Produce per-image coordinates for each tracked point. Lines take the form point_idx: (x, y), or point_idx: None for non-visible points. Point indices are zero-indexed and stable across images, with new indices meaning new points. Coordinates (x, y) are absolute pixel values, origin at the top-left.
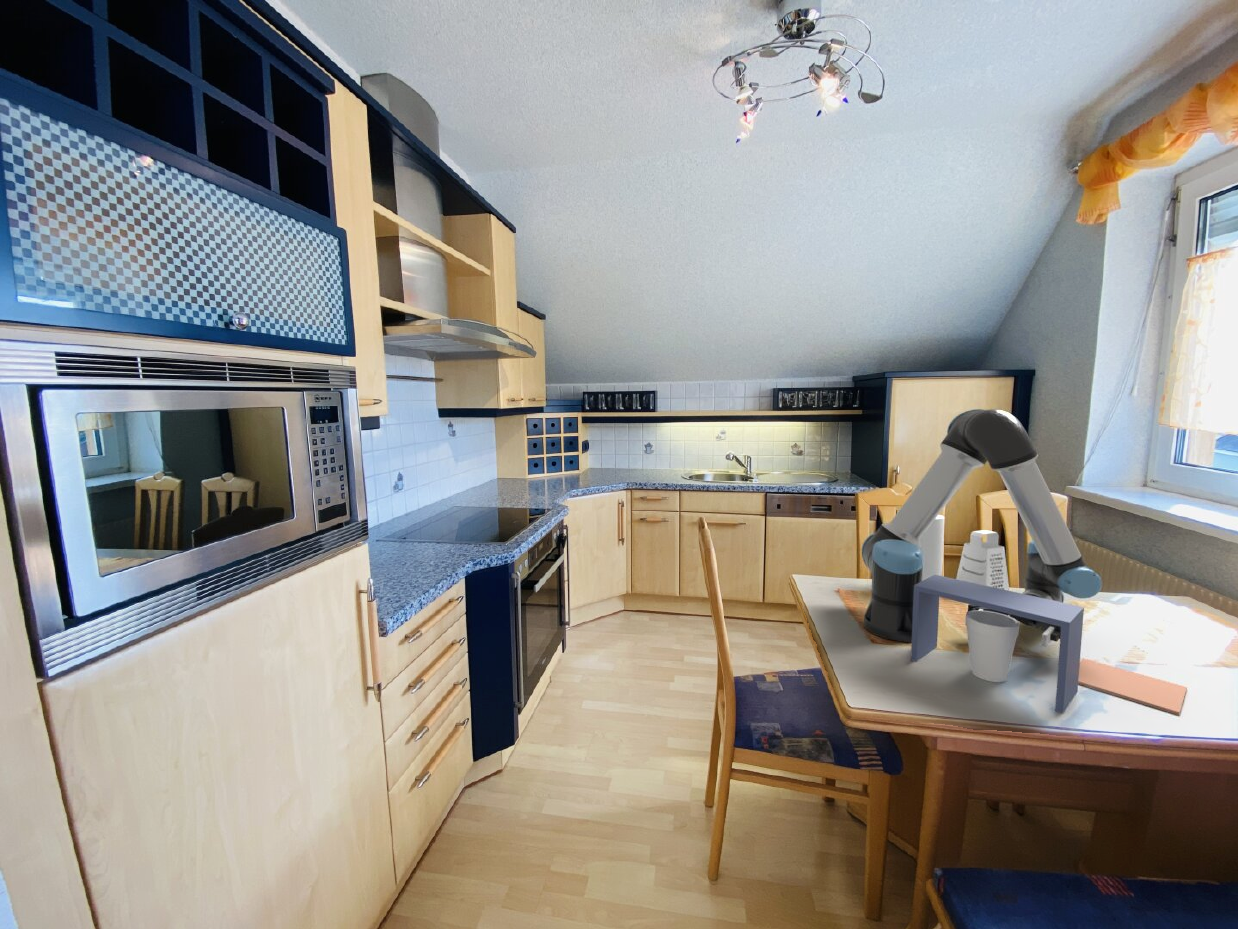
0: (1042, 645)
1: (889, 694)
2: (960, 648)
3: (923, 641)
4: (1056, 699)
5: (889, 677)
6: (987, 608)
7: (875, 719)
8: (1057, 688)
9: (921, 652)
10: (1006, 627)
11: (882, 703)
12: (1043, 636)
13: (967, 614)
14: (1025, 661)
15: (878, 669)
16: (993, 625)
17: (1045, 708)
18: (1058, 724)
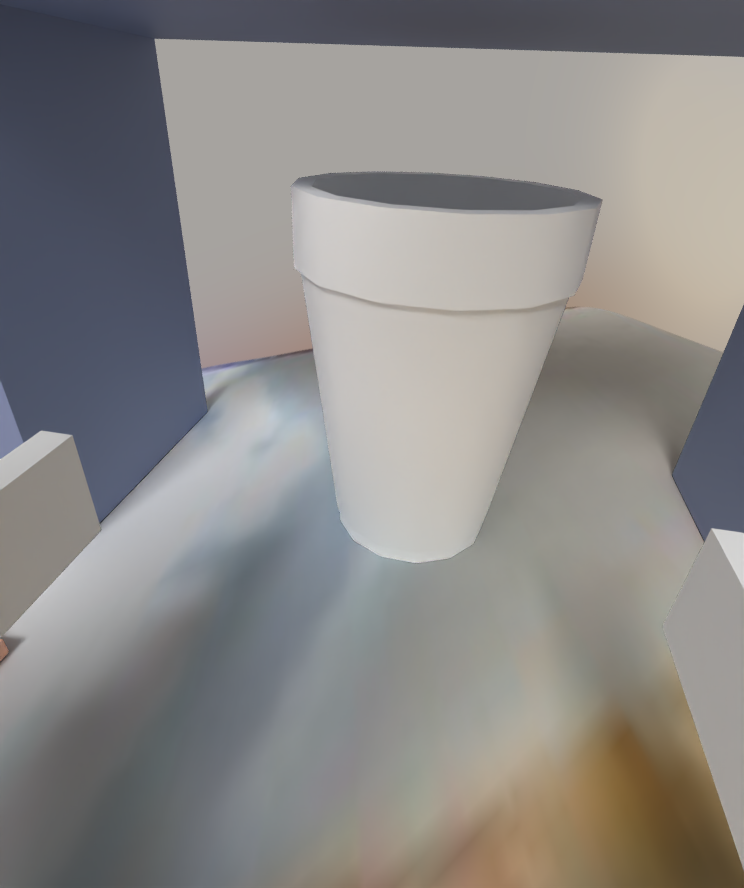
0: (94, 524)
1: (576, 339)
2: (675, 777)
3: (728, 447)
4: (200, 373)
5: (635, 379)
6: (449, 46)
7: None
8: (194, 334)
9: (699, 483)
10: (358, 172)
11: (562, 320)
12: (70, 448)
13: (574, 190)
14: (198, 846)
15: (691, 395)
16: (415, 172)
17: (232, 412)
18: (220, 373)
